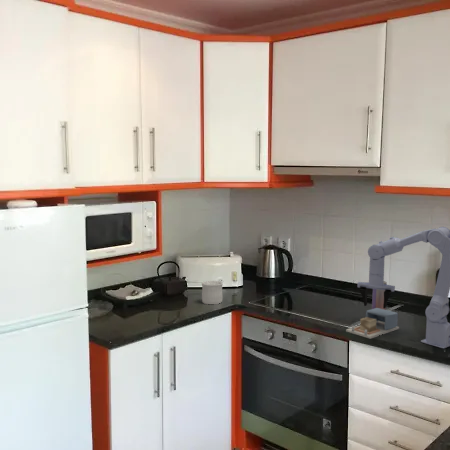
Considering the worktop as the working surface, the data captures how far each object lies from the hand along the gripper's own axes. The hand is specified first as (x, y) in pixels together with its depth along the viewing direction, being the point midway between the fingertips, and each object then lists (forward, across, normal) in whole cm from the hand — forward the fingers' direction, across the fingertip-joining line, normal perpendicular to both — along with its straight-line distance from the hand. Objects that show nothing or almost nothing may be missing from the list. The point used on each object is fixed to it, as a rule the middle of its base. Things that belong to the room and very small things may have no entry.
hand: (375, 306), depth 221 cm
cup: (+10, +78, -4) cm, 79 cm away
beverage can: (+10, +3, -24) cm, 26 cm away
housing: (+9, -2, -5) cm, 10 cm away
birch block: (+9, +2, +4) cm, 10 cm away
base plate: (+10, 0, 0) cm, 10 cm away
